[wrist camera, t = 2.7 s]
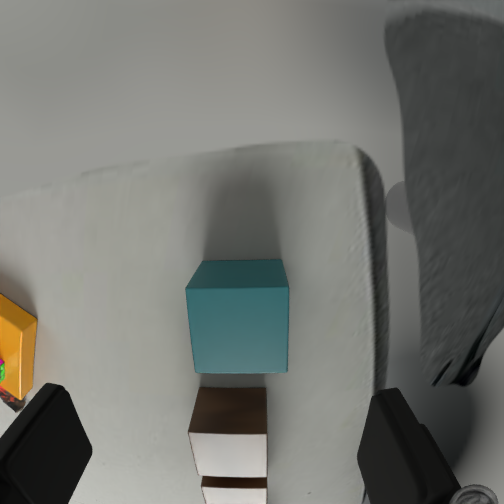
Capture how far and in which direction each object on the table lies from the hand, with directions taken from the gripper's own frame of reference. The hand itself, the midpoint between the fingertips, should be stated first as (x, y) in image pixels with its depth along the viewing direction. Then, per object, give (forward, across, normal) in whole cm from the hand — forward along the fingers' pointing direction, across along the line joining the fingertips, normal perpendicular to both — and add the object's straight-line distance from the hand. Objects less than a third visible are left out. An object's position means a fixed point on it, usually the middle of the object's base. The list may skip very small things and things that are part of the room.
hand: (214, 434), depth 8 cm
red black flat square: (+12, +22, +10) cm, 27 cm away
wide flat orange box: (+12, +20, +4) cm, 24 cm away
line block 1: (+11, 0, +9) cm, 14 cm away
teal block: (+11, 0, 0) cm, 11 cm away
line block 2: (+11, 0, +15) cm, 19 cm away
